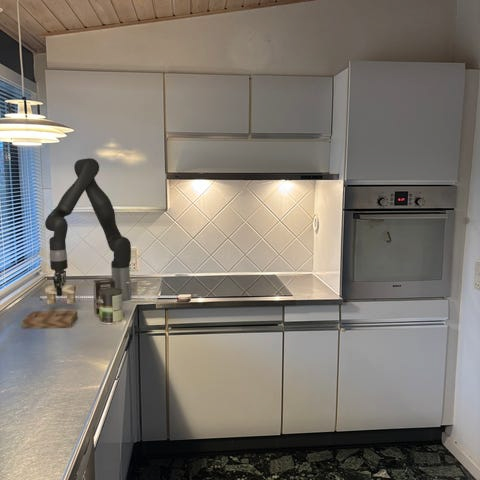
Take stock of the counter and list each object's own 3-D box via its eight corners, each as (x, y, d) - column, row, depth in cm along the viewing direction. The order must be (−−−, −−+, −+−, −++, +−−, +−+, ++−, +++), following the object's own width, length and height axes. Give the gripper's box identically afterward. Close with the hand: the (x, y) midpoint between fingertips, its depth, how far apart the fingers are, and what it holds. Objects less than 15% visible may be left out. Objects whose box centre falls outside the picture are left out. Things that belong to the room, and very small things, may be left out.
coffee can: (101, 325, 211) (100, 294, 209) (98, 318, 221) (97, 288, 219) (125, 322, 215) (124, 292, 213) (121, 316, 225) (120, 286, 223)
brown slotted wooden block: (77, 318, 220) (77, 310, 219) (71, 327, 208) (70, 318, 208) (32, 319, 218) (31, 311, 218) (23, 328, 206) (22, 319, 206)
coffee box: (96, 317, 223) (95, 283, 221) (93, 313, 229) (92, 280, 226) (116, 314, 227) (115, 281, 225) (113, 310, 233) (112, 278, 230)
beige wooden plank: (76, 301, 231) (75, 285, 229) (74, 303, 227) (73, 287, 226) (48, 302, 230) (47, 285, 228) (46, 304, 226) (44, 288, 224)
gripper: (62, 261, 218) (65, 298, 221) (70, 255, 232) (72, 290, 235) (45, 262, 217) (48, 299, 220) (54, 255, 231) (56, 290, 234)
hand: (60, 294), depth 228 cm, fingers closed on beige wooden plank, 4 cm apart
